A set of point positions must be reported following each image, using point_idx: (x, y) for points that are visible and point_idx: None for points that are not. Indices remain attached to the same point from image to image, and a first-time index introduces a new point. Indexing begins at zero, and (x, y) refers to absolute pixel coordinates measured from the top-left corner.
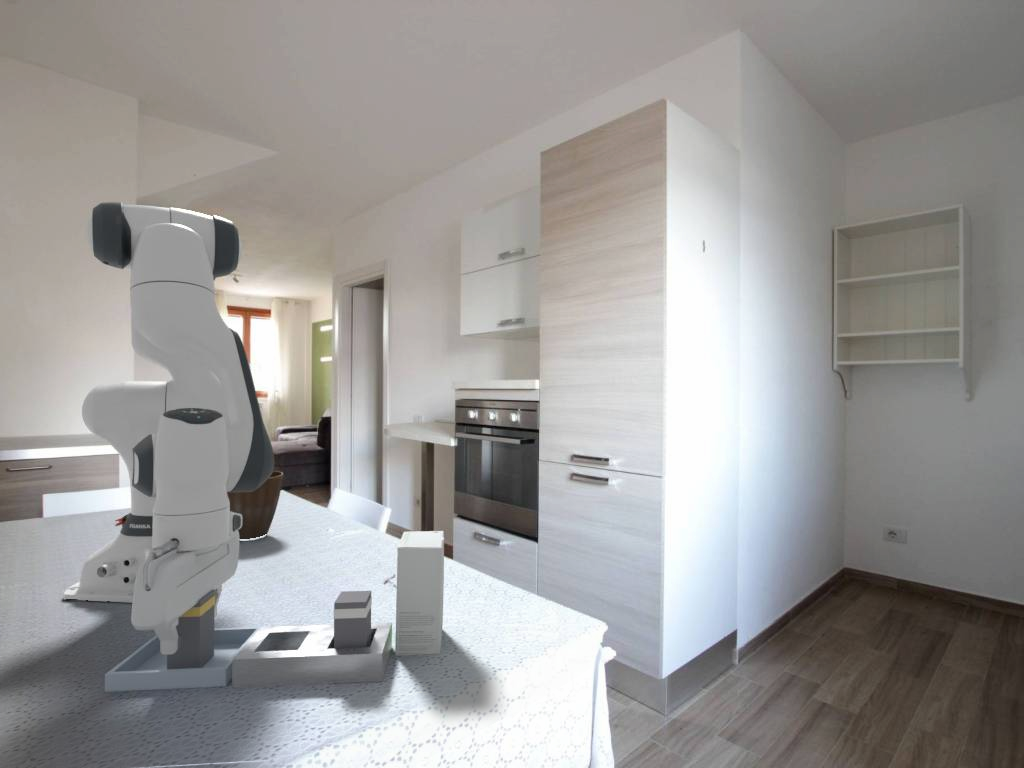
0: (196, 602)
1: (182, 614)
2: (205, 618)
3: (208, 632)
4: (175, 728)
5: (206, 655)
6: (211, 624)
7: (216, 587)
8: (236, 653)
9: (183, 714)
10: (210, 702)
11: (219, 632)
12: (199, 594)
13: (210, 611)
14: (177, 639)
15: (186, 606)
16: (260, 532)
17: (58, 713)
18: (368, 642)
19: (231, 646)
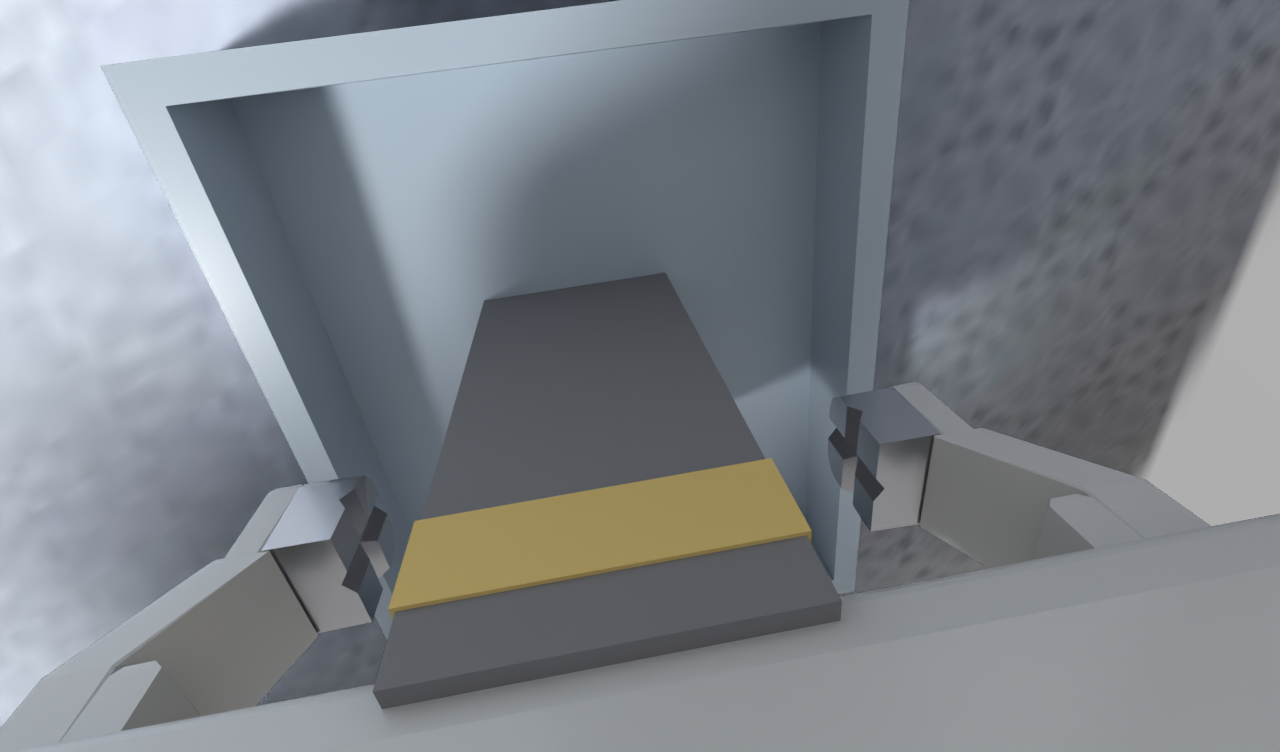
0: (886, 606)
1: (1191, 533)
2: (630, 440)
3: (562, 370)
4: (1148, 61)
5: (581, 302)
6: (504, 402)
7: (256, 722)
8: (654, 28)
9: (1032, 100)
10: (950, 9)
11: (311, 395)
12: (851, 702)
13: (520, 477)
14: (943, 425)
15: (1202, 595)
16: None
17: (902, 572)
18: None
19: (344, 262)
